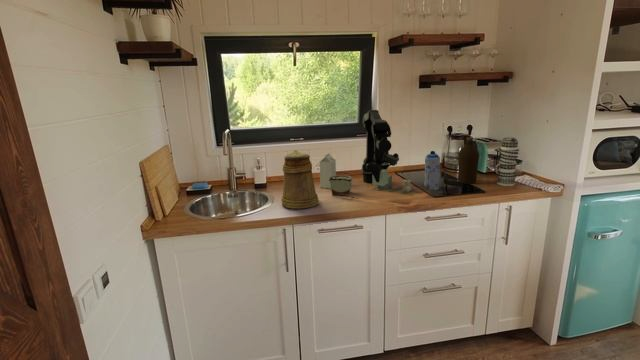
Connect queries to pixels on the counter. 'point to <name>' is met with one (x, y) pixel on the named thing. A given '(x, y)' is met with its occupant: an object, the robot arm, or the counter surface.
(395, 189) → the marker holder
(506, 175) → the decorative candle
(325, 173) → the milk carton
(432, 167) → the aerosol can
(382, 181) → the sage cap
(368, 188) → the counter surface
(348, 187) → the food container
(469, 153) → the olive oil
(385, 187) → the gray block
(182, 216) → the counter surface
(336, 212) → the counter surface
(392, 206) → the counter surface
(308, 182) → the tankard
